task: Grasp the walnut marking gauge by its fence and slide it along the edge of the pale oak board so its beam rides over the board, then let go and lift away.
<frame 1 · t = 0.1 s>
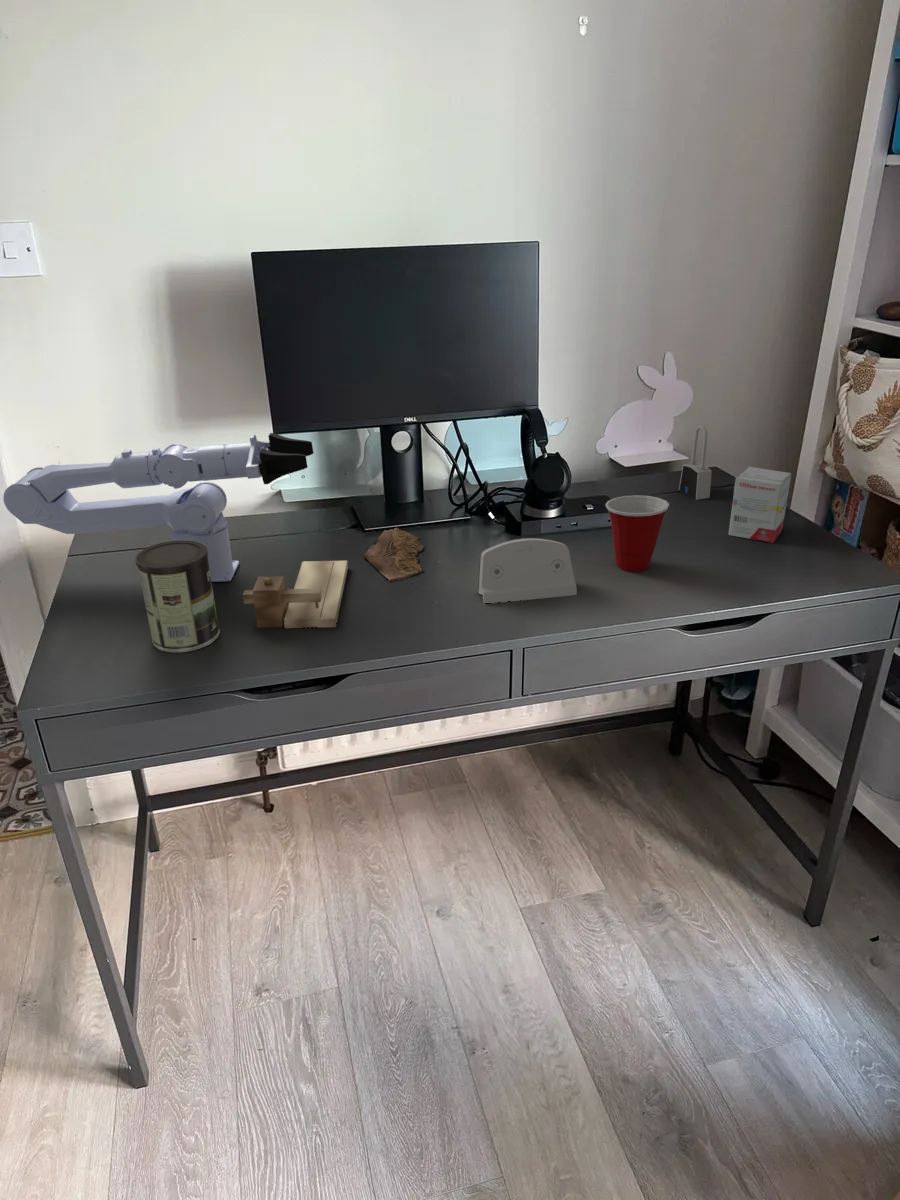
hand: (309, 454, 145), 22 cm above the table, tool horizontal, fingers open, 7 cm apart
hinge: (524, 591, 147), on the table
coffee can: (186, 637, 134), on the table
gauge: (272, 619, 139), on the table
wooden fragment: (394, 554, 162), on the table
ink box: (755, 533, 168), on the table
padlock: (693, 494, 188), on the table
board: (318, 596, 146), on the table
plastic cup: (631, 566, 155), on the table
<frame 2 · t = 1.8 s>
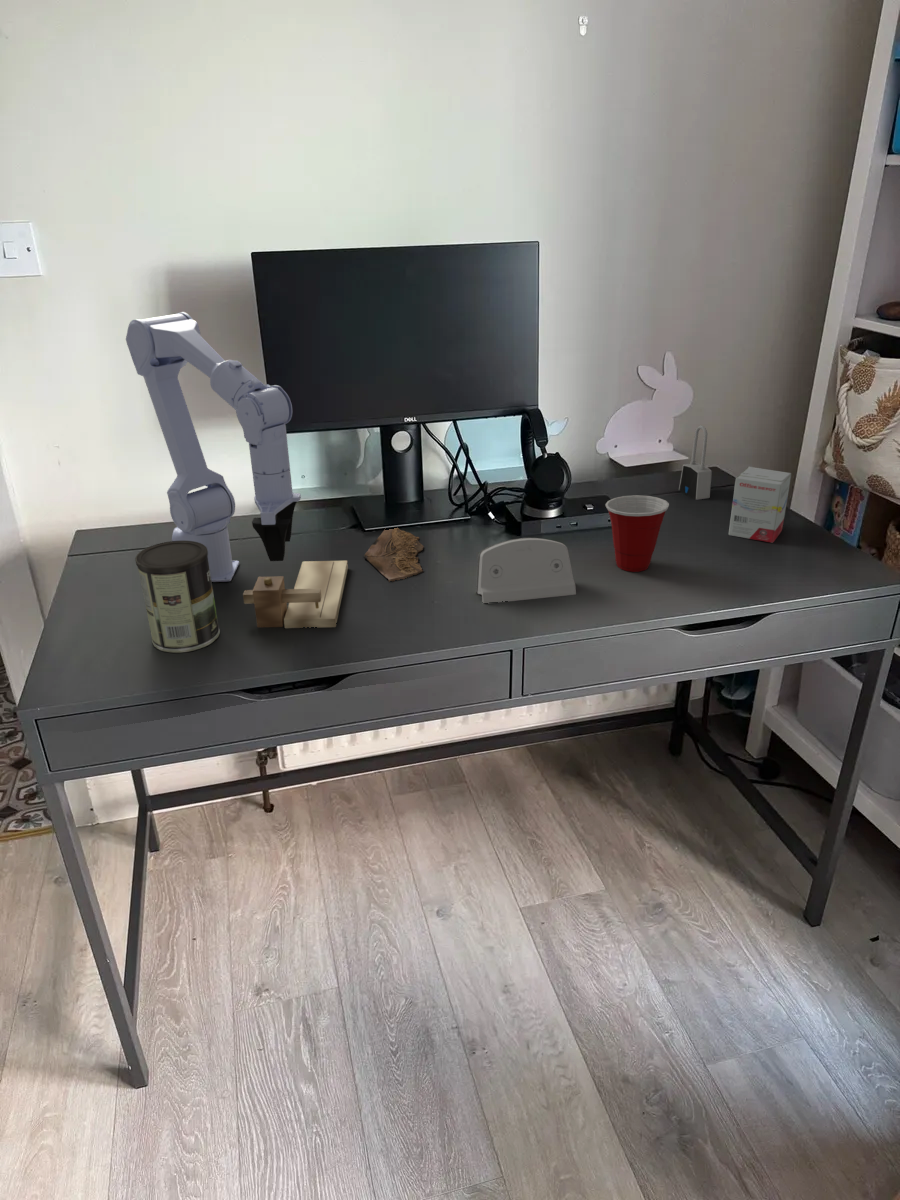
hand: (280, 550, 138), 10 cm above the table, tool pointing down, fingers open, 7 cm apart
nothing on the table moved.
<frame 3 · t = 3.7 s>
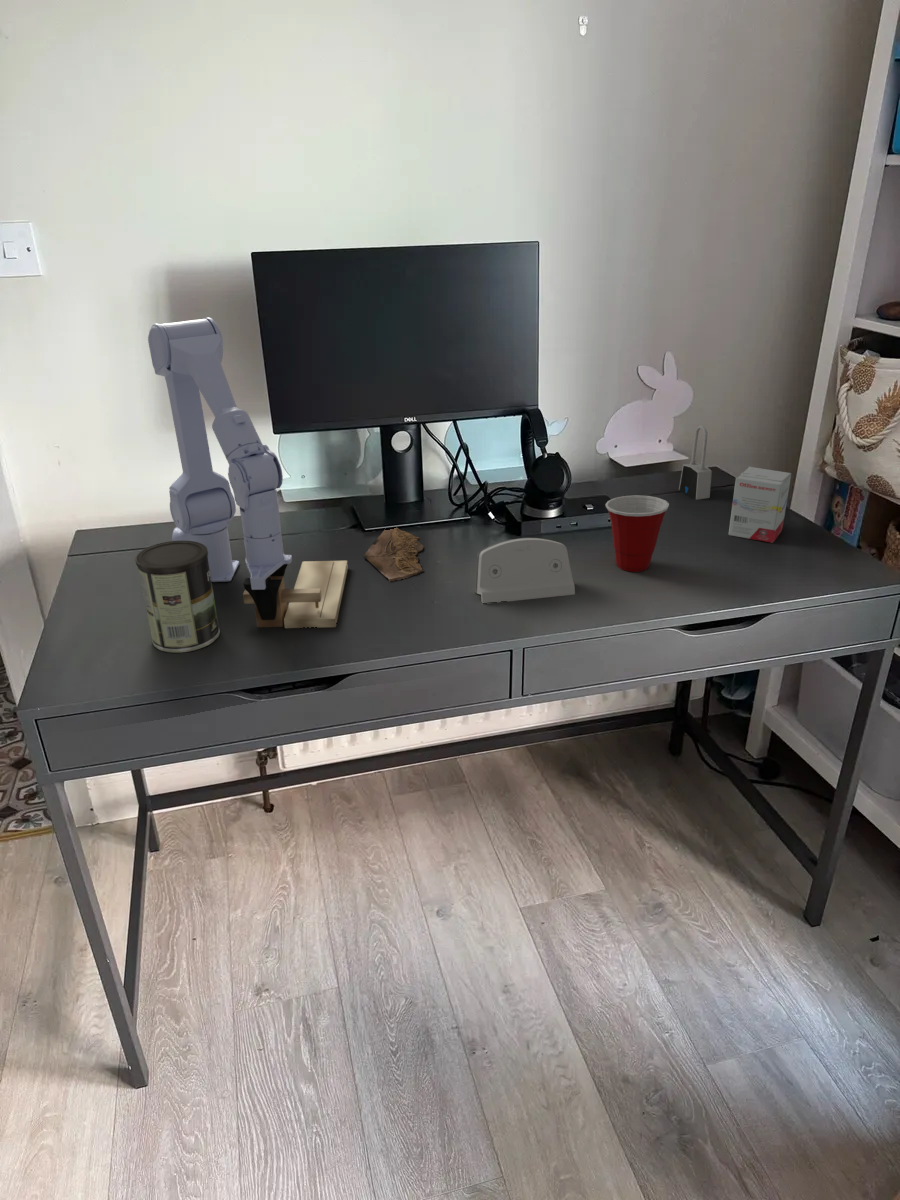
hand: (271, 610, 138), 2 cm above the table, tool pointing down, fingers closed on gauge, 5 cm apart
gauge: (272, 619, 139), on the table, touching gripper
everything else where it was.
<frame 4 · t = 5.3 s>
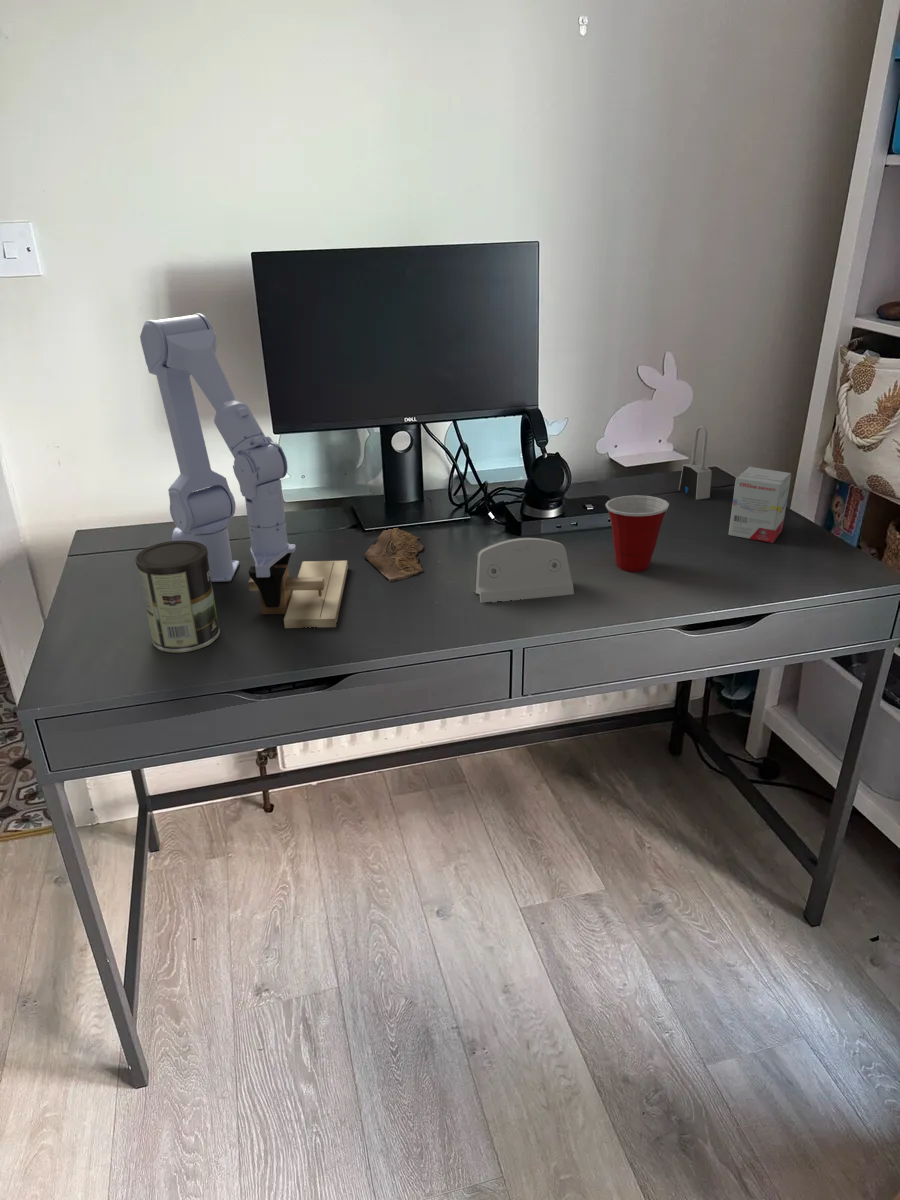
hand: (275, 598, 142), 2 cm above the table, tool pointing down, fingers closed on gauge, 5 cm apart
gauge: (277, 606, 142), on the table, touching gripper
everything else where it was.
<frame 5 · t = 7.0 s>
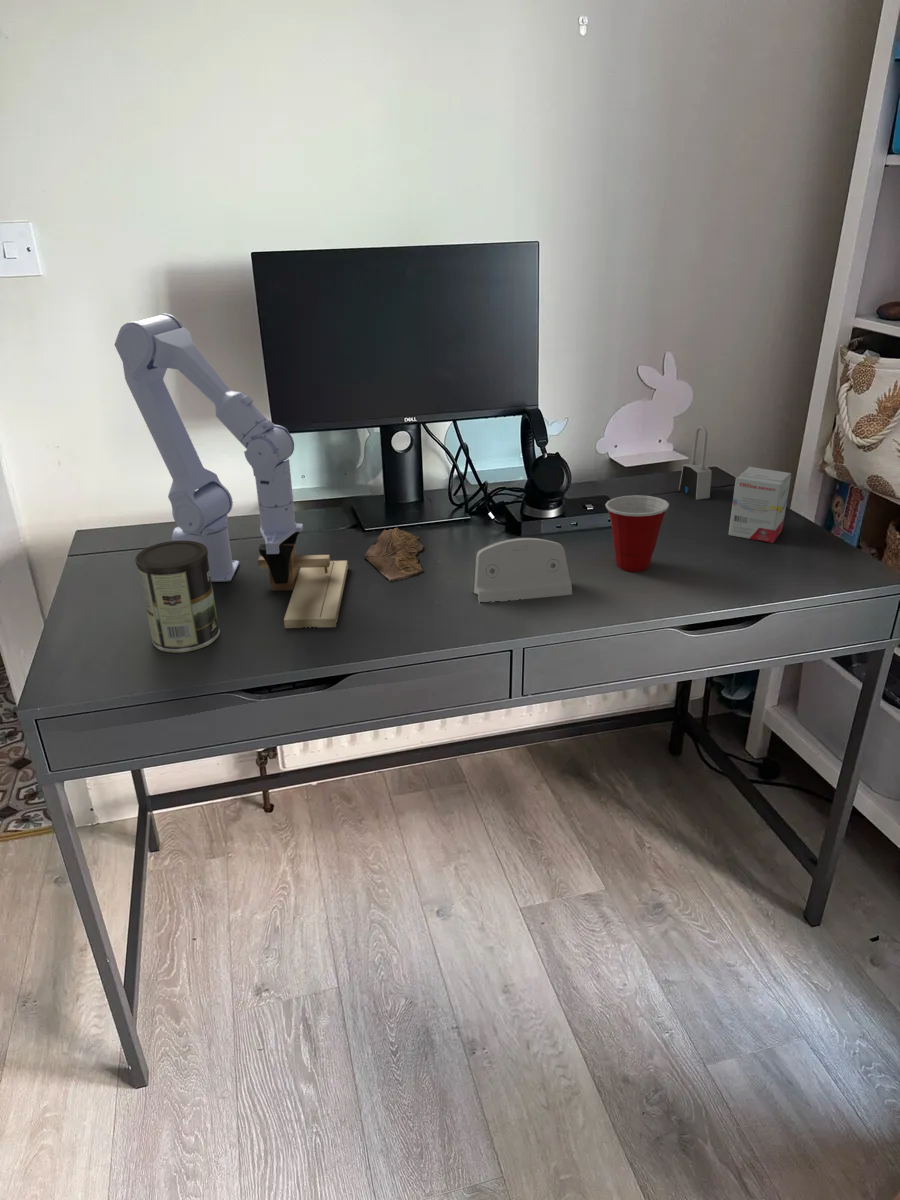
hand: (284, 575, 149), 2 cm above the table, tool pointing down, fingers closed on gauge, 5 cm apart
gauge: (285, 583, 150), on the table, touching gripper
everything else where it was.
when the fingers open (2 cm above the table, at t = 8.1 s): gauge stays where it is, on the table.
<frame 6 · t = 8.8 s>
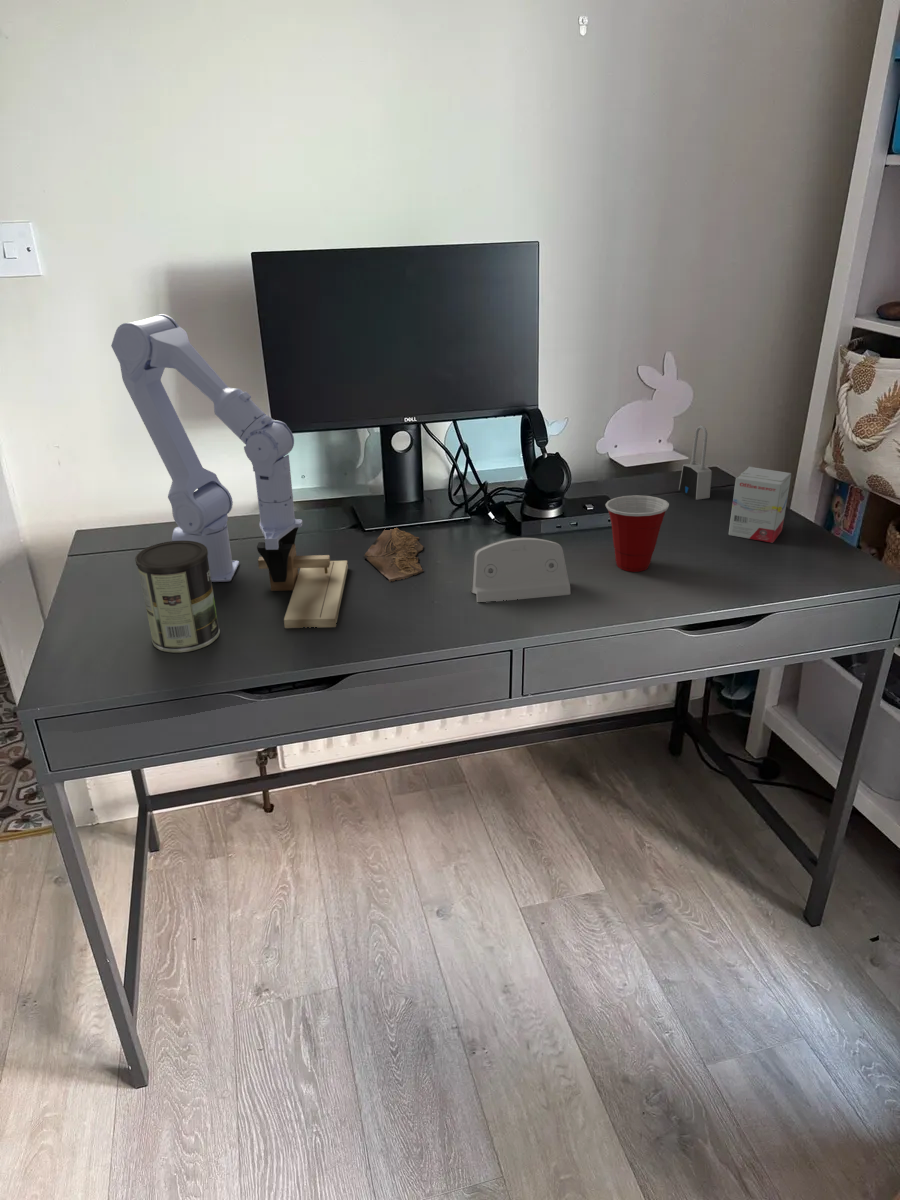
hand: (283, 571, 149), 2 cm above the table, tool pointing down, fingers open, 7 cm apart
gauge: (285, 584, 150), on the table
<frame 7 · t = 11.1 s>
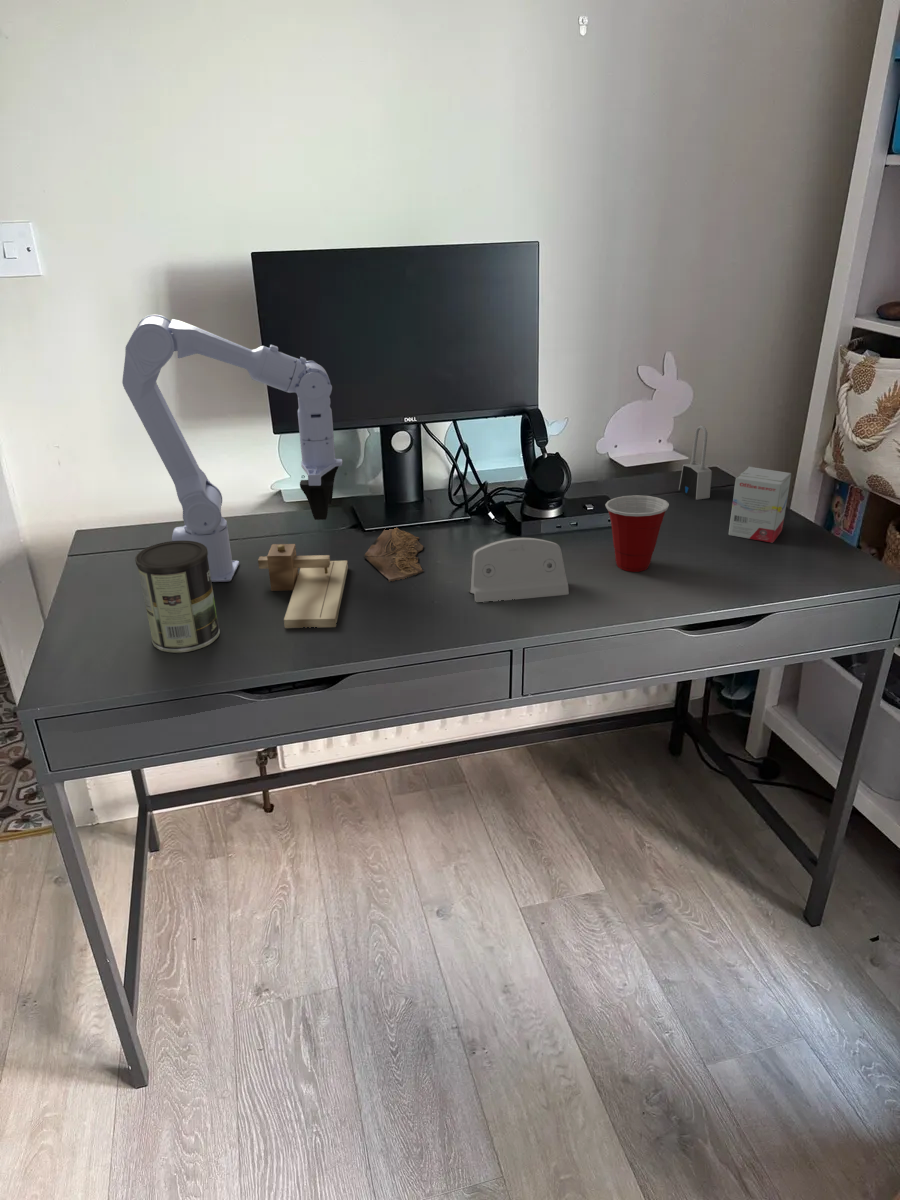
hand: (323, 511, 154), 10 cm above the table, tool pointing down, fingers open, 7 cm apart
at the end: gauge 0.1 cm from the target spot, on the table; gauge tilted 0°; gauge moved 13.0 cm from its start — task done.
